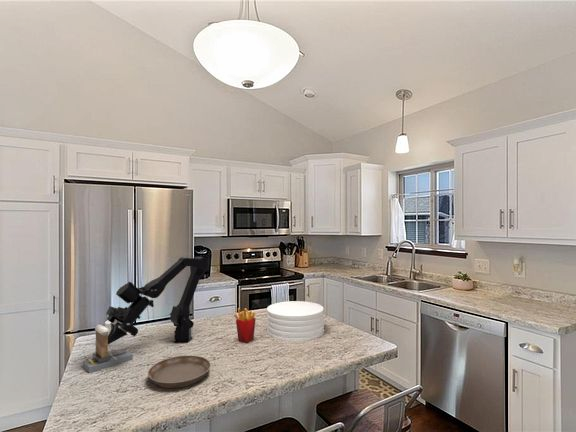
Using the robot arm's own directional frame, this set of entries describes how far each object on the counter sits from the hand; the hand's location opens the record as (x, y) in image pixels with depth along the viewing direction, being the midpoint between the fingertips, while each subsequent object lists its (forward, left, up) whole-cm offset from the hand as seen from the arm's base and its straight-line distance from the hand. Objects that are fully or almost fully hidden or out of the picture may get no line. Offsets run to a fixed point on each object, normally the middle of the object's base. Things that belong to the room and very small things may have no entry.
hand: (105, 344), depth 121 cm
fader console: (-1, -1, -7) cm, 7 cm away
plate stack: (-72, -39, -8) cm, 82 cm away
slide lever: (+1, +1, -5) cm, 5 cm away
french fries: (-50, -24, -8) cm, 56 cm away
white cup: (+9, -21, -8) cm, 24 cm away
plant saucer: (-33, +9, -8) cm, 35 cm away
